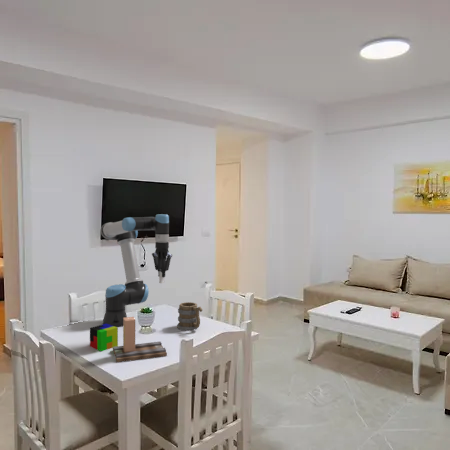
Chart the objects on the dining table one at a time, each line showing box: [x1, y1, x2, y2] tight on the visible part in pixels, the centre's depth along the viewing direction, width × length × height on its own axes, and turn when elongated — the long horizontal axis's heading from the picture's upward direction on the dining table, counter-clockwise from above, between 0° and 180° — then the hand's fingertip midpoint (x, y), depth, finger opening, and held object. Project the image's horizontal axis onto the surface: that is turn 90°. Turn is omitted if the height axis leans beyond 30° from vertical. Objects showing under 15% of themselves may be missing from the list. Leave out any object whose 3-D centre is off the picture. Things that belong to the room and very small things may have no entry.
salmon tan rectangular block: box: [122, 316, 136, 353], centre depth 203 cm, size 5×6×16 cm
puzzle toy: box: [89, 323, 119, 352], centre depth 214 cm, size 10×10×10 cm
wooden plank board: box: [112, 341, 168, 363], centre depth 206 cm, size 24×16×2 cm, turn 112°
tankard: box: [176, 301, 203, 331], centre depth 245 cm, size 20×13×15 cm, turn 37°
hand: (161, 282), depth 234 cm, fingers closed
